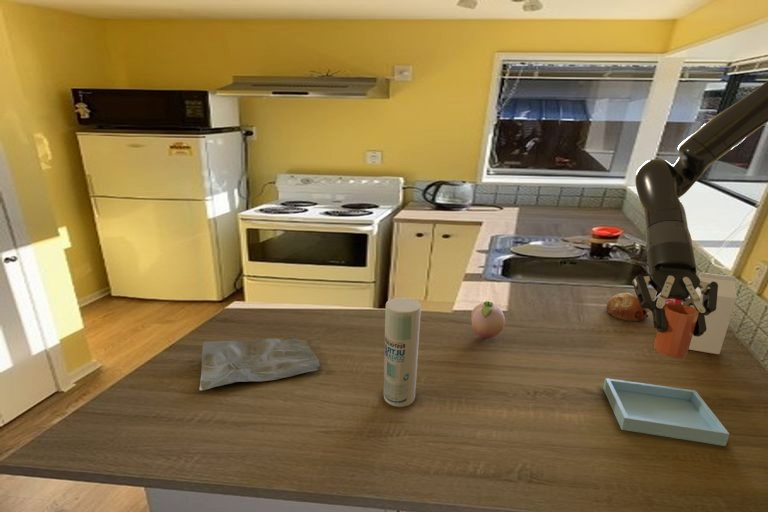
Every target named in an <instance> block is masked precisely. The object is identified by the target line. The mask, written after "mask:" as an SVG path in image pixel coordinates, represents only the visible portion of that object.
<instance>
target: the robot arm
mask: <svg viewBox="0 0 768 512" xmlns="http://www.w3.org/2000/svg"><path fill="white" fill-rule="evenodd" d="M766 124H768V80H767V81H765V82H764V83H763V84H762V85H760V86H759V87H757V88H756V89H755V90H753V91H752V92H750V93H748V94H747V95H746V96H745V97H743V98H741V99H740V100H738V101H737V102H735V103H734V104H732V105H730V106H729V107H727V108H726V109H724V110H722V111H720V112H719V113H718V114H716V115H715V116H713V117H712V118H710V119H709V120H708V121H706V123H704V124H703V125H702V126H701V127H699V128H698V129H697V130H696V131H693V133H692V134H690V136H688V137H687V138H686V139H684V140H683V141H682V142H681V143H680V144H679V145H678V147H677V153H678V158H677V160H676V161H675V163H674V164H671V163H670V162H669V161H667V160H666V159H662V158H653V159H650V160H647V161H645V162H644V163H643V164H642V165H641V166H640V167H639V168H638V169H637V171H636V174H635V179H634V181H635V188H636V192H637V195H638V198H639V202H640V205H641V207H642V210H643V213H644V225H645V251H646V257H647V258H646V259H647V265H648V272H649V274H648V275H646V276H645V275H642V274H637V275H636V276H635V278H633V279H632V281H631V283H632V286H633V289H634V293H635V296H636V297H637V298H638V301H639V304H640V307H641V308H643V309H645V308H646V309H648V310H649V311H651V313H652V315H651V316H652V322H653V327H654V329H656V331H658V332H664V331H665V330H666V329H667V324H666V316H665V310H663V309H662V308H663V307H664V304H665V301H666V299H672V298H673V299H677V300H681V301H682V303H683V305H686V306H690V307H692V308H694V309H696V310H697V311H698V312H699V315H698V318H697V322H696V325H695V329H694V332H693V335H694V336H698V337H699V336H701V335H703V334H704V332H706V329H707V328H706V322H705V315H709V314H710V313H711V312H713V311H715V310H716V305H717V293H718V284H717V283H716V282H711V283H707V282H703V281H700V279H699V278H698V277H699V275H697V265H696V258H695V252H694V246H693V240H692V235H691V232H690V229H689V226H688V220H687V213H686V210H685V207H684V205H683V203H682V202H681V199H680V198H682V196H684V195H686V193H687V192H689V190H690V189H691V188H692V187H693V186H694V184H695V183H696V182H697V181H698V180H699V179H700V178H701V177H702V175H704V173H705V171H706V170H707V169H708V168H709V167H710V166H711V165H713V164H714V163H715V162H717V161H718V160H719V159H721V158H722V157H723V156H725V155H726V154H727V153H729V152H730V151H732V150H733V149H734V148H735V147H737V146H738V145H739V144H741V143H742V142H744V140H746V139H747V138H748V137H750V136H751V135H752V134H754V133H756V131H758V130H759V129H760V128H762V127H763V126H765V125H766ZM649 285H650V286H651V287H652V288H653V289H654V290H655V295H654V297H653V300H652V296H651V293H650V291H649V288H648V286H649ZM697 287H699V288H700V290H701V294H703V301H702V303H701V302H700V297H699V295H698V293H697V292H696V288H697ZM689 296H690V299H689V298H688V297H689Z"/></svg>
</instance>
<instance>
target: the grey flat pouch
mask: <svg viewBox="0 0 768 512" xmlns="http://www.w3.org/2000/svg"><path fill="white" fill-rule="evenodd" d="M320 363H321V362H320V359H319V357H318V356H317V355H316V353H315V352H314V350H312V349H311V345H308V342H307V340H305V339H301V340H299V338H298V336H291V337H287V338H284V339H280V338H264V339H258V340H253V341H239V340H217V341H203V342H202V351H201V369H200V370H201V371H200V381H199V382H200V383H199V389H198V390H199V391H206V390H209V389H212V388H216V387H221V386H224V385H230V384H234V383H239V382H243V383H244V382H245V383H246V382H268V381H277V380H280V379H284V378H285V379H286V378H289V377H294V376H297V375H301V374H304V373H309V372H310V373H311V372H318V370H319V368H321V364H320Z"/></svg>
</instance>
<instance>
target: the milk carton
mask: <svg viewBox="0 0 768 512" xmlns="http://www.w3.org/2000/svg"><path fill="white" fill-rule="evenodd" d="M698 278H699V279H700V281H703V282H707V283H711V282H716V283H717V284H718V293H717V305H716V310H715V311H713V312H711V313H710V314H709V315H705V322H706V328H707V329H706V332H704V334H703V335H701V336H699V337H698V336H694V335H693V336H692V339H691V343H690V346H689V350H690V351H696V352H703V353H709V354H715V355H720V354H721V351H722V348H723V344H724V341H725V338H726V335H727V333H728V328H729V325H730V323H731V319H732V316H733V314H734V313H733V312H734V309H735V306H736V303H737V299H738V294H737V288H736V282H735V281H736V278H737V277H736V276H732V275H725V274H717V273H708V272H699V275H698ZM696 292H697V293H698V295H699V297H700V302H701V303H702V301H703V294H701V290H700V288H699V287H697V288H696ZM688 298H689V299H690V296H689V297H688ZM689 350H688V351H689Z"/></svg>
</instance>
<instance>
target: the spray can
mask: <svg viewBox="0 0 768 512" xmlns="http://www.w3.org/2000/svg"><path fill="white" fill-rule="evenodd" d="M384 311H385V312H384V314H385V316H384V357H383V359H384V360H383V399H384V401H385V402H386V403H387V404H388V405H391V406H393V407H397V408H402V407H408V406H409V405H411V404H413V403H414V401H415V398H416V391H417V390H416V388H417V387H416V386H417V375H418V374H417V373H418V361H419V359H418V357H419V343H420V329H421V328H420V327H421V315H422V305H421V303H420V301H418V300H416V299H413V298H409V297H395V298H391V299H388V300H387V301H386V303H385V310H384Z"/></svg>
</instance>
